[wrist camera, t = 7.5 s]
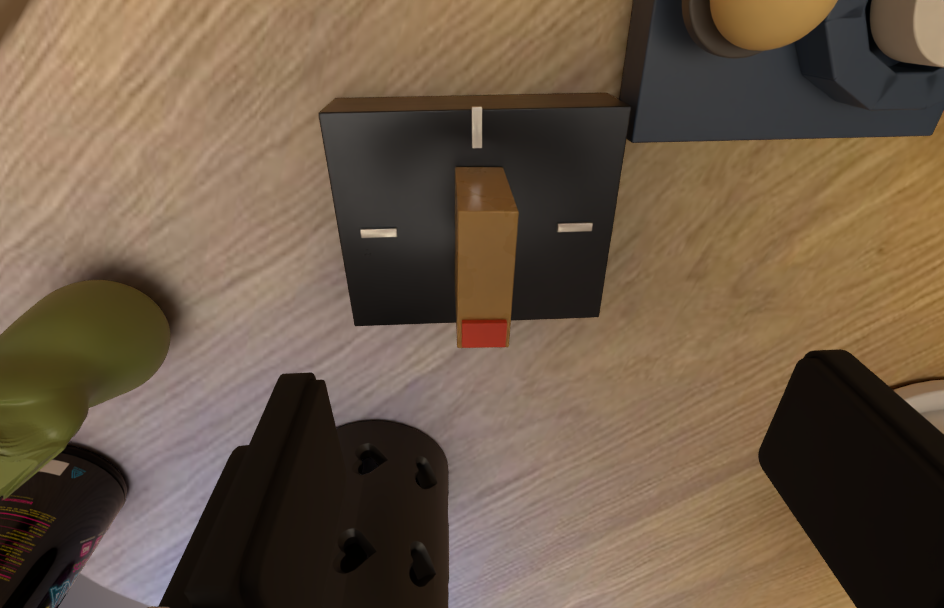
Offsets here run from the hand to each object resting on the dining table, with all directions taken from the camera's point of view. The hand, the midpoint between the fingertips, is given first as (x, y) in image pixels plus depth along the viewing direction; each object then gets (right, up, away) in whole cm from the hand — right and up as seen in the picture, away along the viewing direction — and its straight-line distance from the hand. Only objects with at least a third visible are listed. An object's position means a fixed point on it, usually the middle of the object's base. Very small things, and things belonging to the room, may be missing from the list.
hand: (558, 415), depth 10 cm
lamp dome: (+6, +12, +5) cm, 14 cm away
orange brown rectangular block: (-2, +5, +9) cm, 11 cm away
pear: (-19, +2, +14) cm, 24 cm away
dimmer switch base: (-2, +7, +12) cm, 14 cm away
